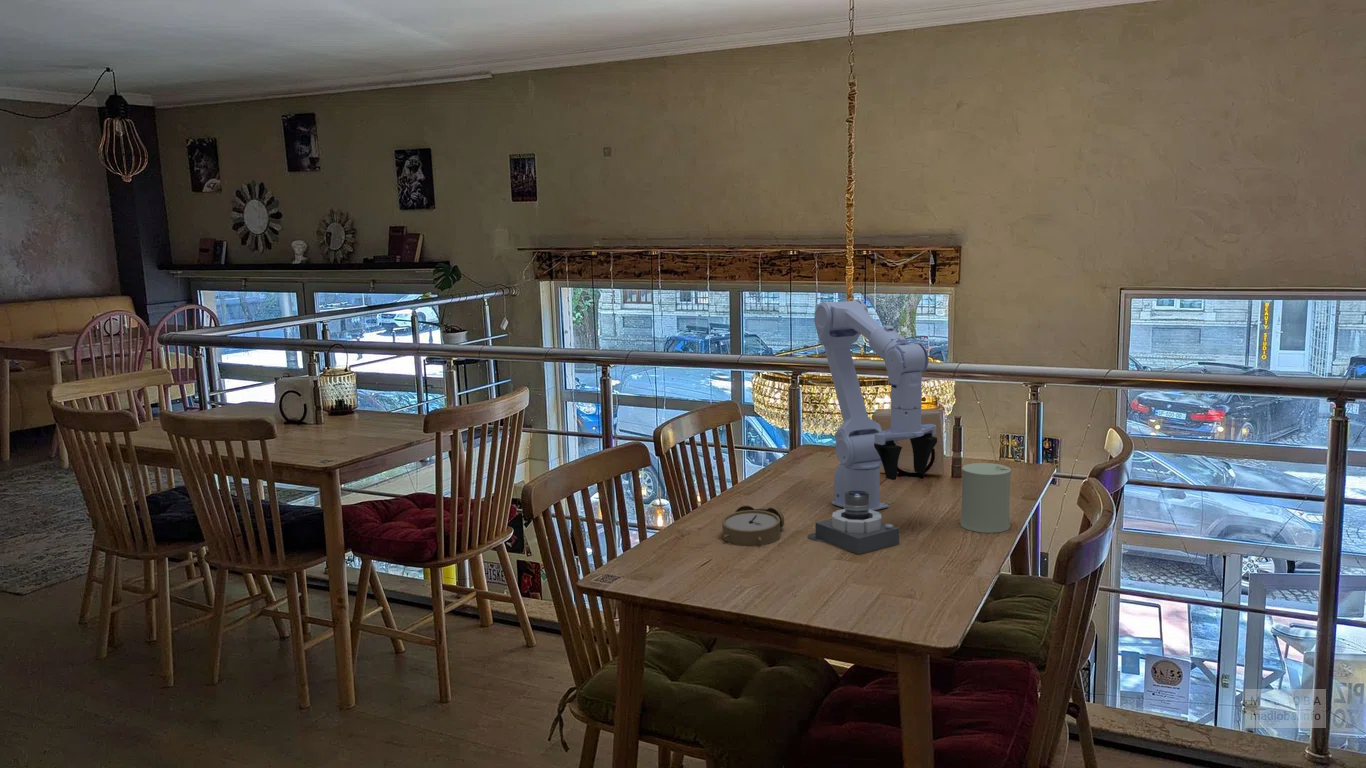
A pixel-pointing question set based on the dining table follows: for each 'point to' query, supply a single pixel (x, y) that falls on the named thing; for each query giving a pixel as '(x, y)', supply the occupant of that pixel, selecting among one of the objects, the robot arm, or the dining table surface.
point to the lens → (856, 505)
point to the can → (985, 497)
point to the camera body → (857, 532)
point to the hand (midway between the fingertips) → (905, 475)
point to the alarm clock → (753, 526)
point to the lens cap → (813, 537)
